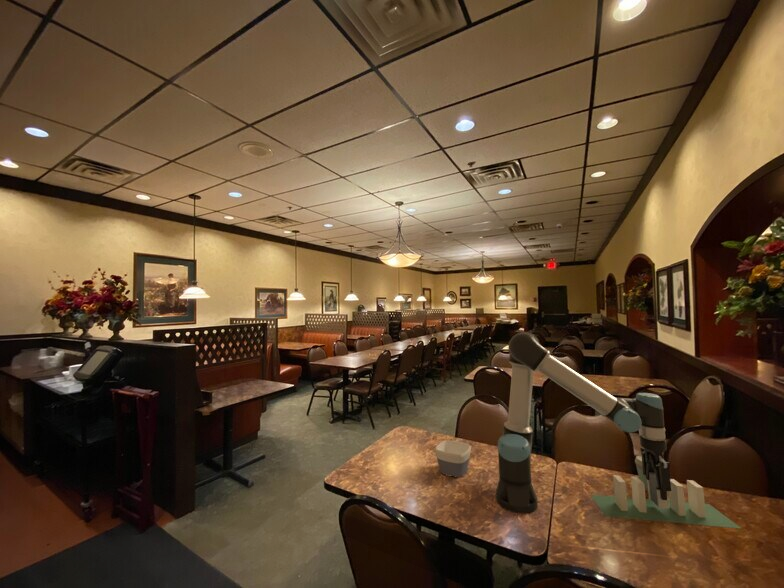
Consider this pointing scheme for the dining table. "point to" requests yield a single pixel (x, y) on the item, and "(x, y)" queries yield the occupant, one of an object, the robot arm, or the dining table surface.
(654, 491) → the slate domino
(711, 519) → the mat
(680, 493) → the domino
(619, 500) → the domino
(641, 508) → the domino
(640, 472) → the coffee cup
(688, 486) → the domino
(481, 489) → the dining table surface
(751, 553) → the dining table surface
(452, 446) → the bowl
